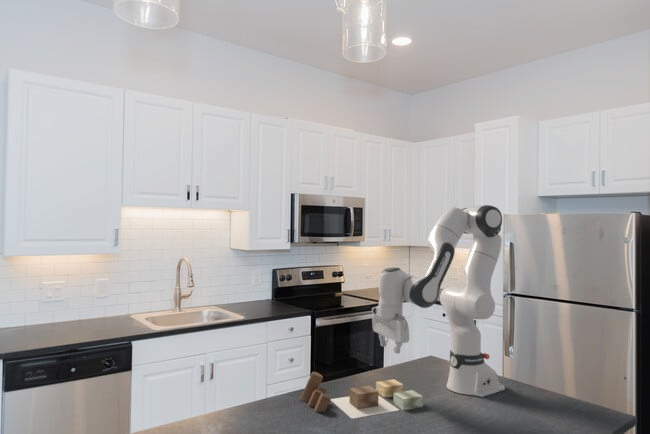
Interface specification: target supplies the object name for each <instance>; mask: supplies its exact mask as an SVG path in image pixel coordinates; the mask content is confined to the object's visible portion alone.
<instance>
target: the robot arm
mask: <svg viewBox="0 0 650 434" xmlns="http://www.w3.org/2000/svg"><path fill="white" fill-rule="evenodd" d="M502 224H503V215H502V212H501V210H499V208H498V207H496V206H493V205H488V204H486V205H474V206H471V207H464V208H462V209H461V208H460V207H459V208H458V207H456V206H455V207H453V206H452V207H448V209H446V210H445V211H444V212H443V213H442V214H441V215H440V217H439V218H438V219H437V220H436V222H435V224H434V225H433V227H432V228H431V230H430V231H429V233H428V236H427V239H426V240H427V244H428V247H429V249H430V250H431V251H432V252H433V254H434V255H433V256H434V257H433V260H432V261H431V264H430V265H429V268H428V270H427V272H426V274H425V275H424V276H423V277H421V278H420V277H418V276H417V277H416V276H413V275H411V274H408V273H407V272H405V271H403V270H402V269H401V268H399V267H387V268H384V269H383V270H382V271H381V272H380V273H379V279H378V280H379V282H378V294H379V295H378V296H379V298H378V299H379V300H378V305H377V306H374V307H372V308H371V313H372V318H371V321H372V324H371V325H372V331H373V333H377V334H378V339H379V341H380V346H381V347H385V348H386V347H387V341H386V338H388V339H390V340H393V341H395V347H393V352H394V353H395V354H400V353H401V348H402V346H403V344H406V343H409V341H410V328H409V323H408V321H407V319H406V316H404V315H403V303H404V302H408V303H411V304H413V305H416V306H418V307H419V308H422V309H428V308H431V307H432V306H433V305H434V304H435V303H436V302H438V299H439V303H440V305H441V306H442V307H443V309H444V311H445V313H446V317H447V320H448V323H449V328H450V329H449V330H450V344H451V345H450V350H449V361H450V363H449V364H450V366H449V372H448V378H447V379H448V380H447V382H446V388H447V389H448V390H449V391H452V392H455V393H458V394H461V395H469V396H476V397H481V398H483V397H486V396H490V395H494V394H496V393H498V392H499V393H500V392H502V391H504V390H506V387H505V385H504V384H502V383H500V382H499V376H498V373H497V371H496V370H495V369H493V368H492V367H491V366H490V365H488V364H487V363H486V362H485V360H490V354H488V353H486V352H483V353H482V352H481V351H482V342H481V340H482V339H481V338H482V334H481V331H480V329H479V328H478V327H477V325H476V323H475V320H487V319H490V318H491V317H492V316H493V314H494V313H495V311H496V303H495V300H494V297H493V296H492V291H491V290H492V289H491V284H492V283H491V282H492V277H493V274H494V271H495V268H496V266H497V263H498V260H499V257H500V253H501V249H502V242H503V240H502V239H503V238H502V236H501V235H500V234H499V233H500V232H501V229H502ZM463 234H466V235H468V234H471V235H472V236H473V242H472V245H471V247H470V249H469V251H468V254H467V257H466V260H465V262H464V265H463V267H462V270H463V273H464V275H465V286H459V285H451V286H447V287H445V288H443V289H442V291H441V293H440V290H441V286H442V284H443V281H444V279H445V277H446V275H447V273H448V270H449V269H450V266H451V265H452V262H453V260H454V256H455V252H456V251H455V249H456V247H457V245H458V244H459V241H460V240H461V238H462V236H463Z"/></svg>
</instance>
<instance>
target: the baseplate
mask: <svg viewBox="0 0 650 434" xmlns="http://www.w3.org/2000/svg"><path fill="white" fill-rule="evenodd" d="M330 401H331V402H332V403H333V404H334V405H335V406H336V407H338V408H339V409H340V410H341V411H342V412H343V413H344V414H345V415H347V416H348V417H349V418H350V419H352V420H353V419H357V418H364V417H370V416H374V415H375V416H376V415H380V414H386V413H392V412H397V411H400V408H398V407H397V406H396V405H394V404H392V403H390V402H389V401H387V399H384V397H383V396H381V395H380V394H379V395H378V406H376V407H370V408H364V409H358V410H357V409H356V408H355V407H354V406H353V405H351V404H350V395H349V396H344V397H343V396H342V397H336V398H335V397H334V398H330Z"/></svg>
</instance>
